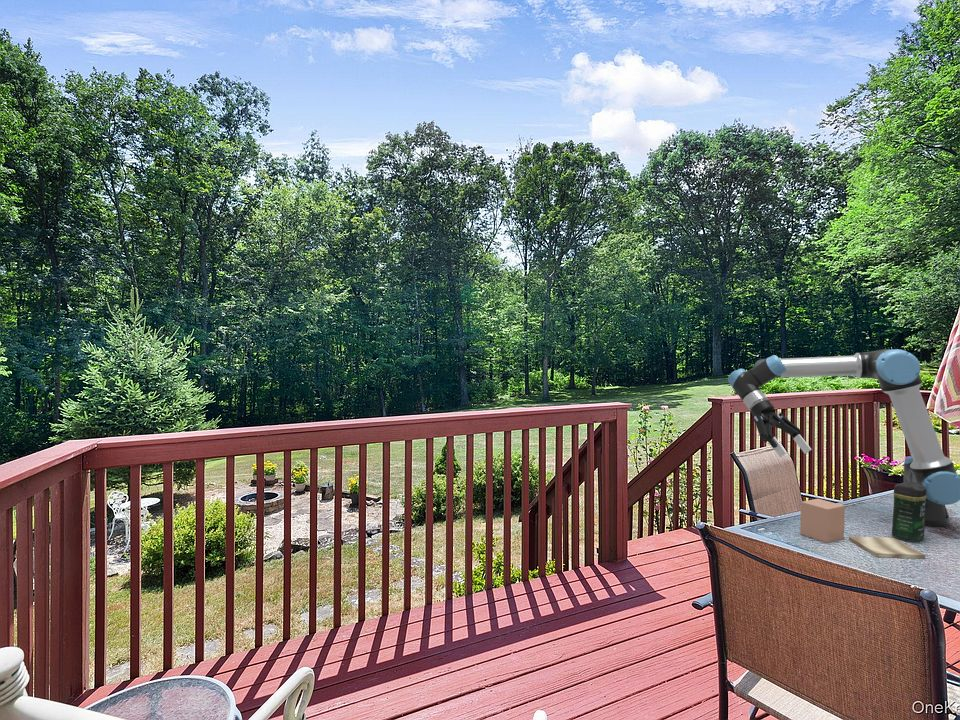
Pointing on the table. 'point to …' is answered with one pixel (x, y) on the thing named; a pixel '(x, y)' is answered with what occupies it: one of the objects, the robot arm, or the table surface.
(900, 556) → the pad
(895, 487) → the coffee jar
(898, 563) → the table surface
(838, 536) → the cover
